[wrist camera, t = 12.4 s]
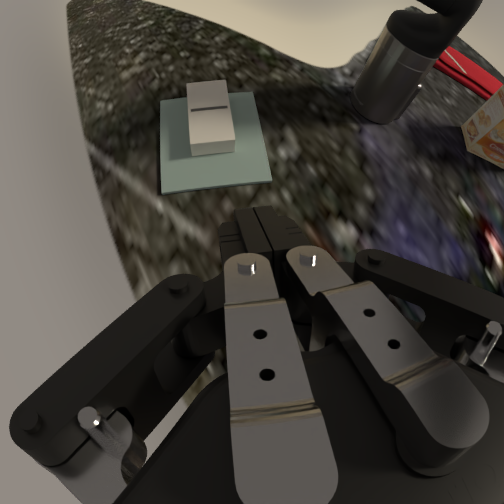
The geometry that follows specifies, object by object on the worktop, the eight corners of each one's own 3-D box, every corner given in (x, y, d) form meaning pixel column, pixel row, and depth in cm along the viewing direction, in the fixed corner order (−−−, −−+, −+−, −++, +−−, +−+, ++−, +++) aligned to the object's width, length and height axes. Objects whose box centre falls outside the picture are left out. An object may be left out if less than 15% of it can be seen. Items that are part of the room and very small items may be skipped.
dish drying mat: (528, 135, 57) (535, 129, 53) (427, 65, 56) (433, 56, 52) (516, 101, 61) (522, 95, 57) (419, 37, 60) (425, 28, 57)
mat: (252, 94, 46) (252, 91, 45) (271, 182, 42) (272, 180, 41) (160, 103, 44) (160, 100, 43) (162, 194, 40) (161, 193, 39)
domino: (234, 152, 42) (225, 93, 45) (235, 138, 39) (225, 79, 42) (192, 156, 41) (187, 96, 44) (190, 143, 38) (186, 82, 41)
